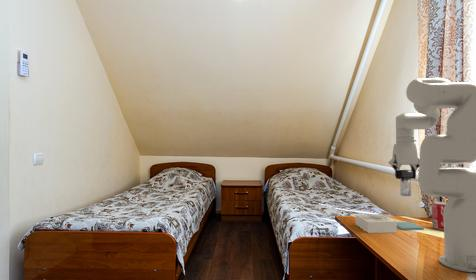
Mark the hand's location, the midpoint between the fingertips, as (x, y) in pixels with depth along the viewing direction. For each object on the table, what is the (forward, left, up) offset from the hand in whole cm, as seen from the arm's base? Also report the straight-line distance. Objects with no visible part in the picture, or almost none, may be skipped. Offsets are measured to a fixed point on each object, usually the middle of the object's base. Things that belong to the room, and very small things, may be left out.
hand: (405, 178), depth 141 cm
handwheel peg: (0, 0, -8) cm, 8 cm away
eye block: (-2, +16, -23) cm, 28 cm away
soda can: (-4, -14, -23) cm, 27 cm away
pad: (0, 0, -23) cm, 23 cm away
